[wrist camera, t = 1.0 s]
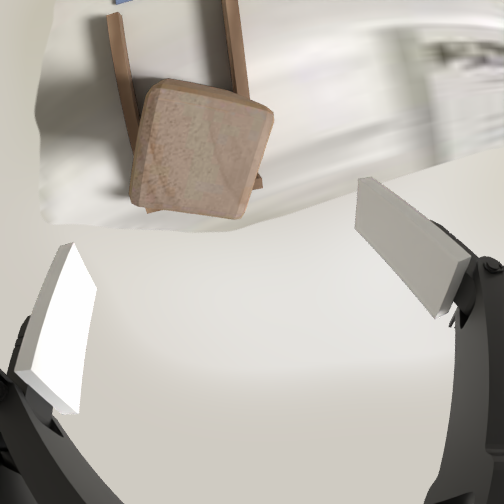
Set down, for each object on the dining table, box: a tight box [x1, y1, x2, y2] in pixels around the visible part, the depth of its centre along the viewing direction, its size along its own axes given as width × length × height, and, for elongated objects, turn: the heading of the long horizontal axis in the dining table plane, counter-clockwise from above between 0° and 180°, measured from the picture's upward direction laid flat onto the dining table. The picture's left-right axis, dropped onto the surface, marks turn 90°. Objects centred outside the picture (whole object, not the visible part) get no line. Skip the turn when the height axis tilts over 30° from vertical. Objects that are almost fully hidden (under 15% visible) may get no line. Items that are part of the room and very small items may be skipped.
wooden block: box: [129, 78, 274, 219], centre depth 29 cm, size 10×10×20 cm
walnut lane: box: [106, 0, 263, 214], centre depth 33 cm, size 16×28×5 cm, turn 7°
